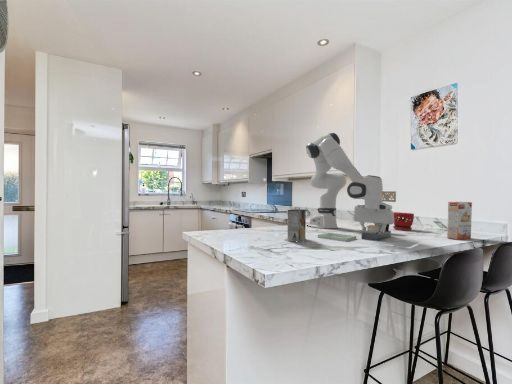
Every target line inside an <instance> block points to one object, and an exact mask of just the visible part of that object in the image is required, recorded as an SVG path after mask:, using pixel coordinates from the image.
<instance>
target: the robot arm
mask: <svg viewBox="0 0 512 384" xmlns="http://www.w3.org/2000/svg"><path fill="white" fill-rule="evenodd" d="M305 150H306V154H307V156H308V157H309V158H311V159H313V162H314V165H315V173H314V174H313V175H312V176H311V178H310V184H311V186H312V187H313V188H314V189H319V190H321V189H322V190H323V189H326V190H327V191H326V192H325V193H323V194H322V195H321V196H320V198H319V207H318V208H316V211H317V212H316V214H314V215H313V216H311V217H310V220H309V223H308V224H306V226H307V225H308V226H307V227H309V226H311V227H310V228H316V229H338V228H339V227H338V223H337V208H336V206H337V197H338V194H339V192H340V191H341V190H342V189H343V188H344V187H345V186H346V184H347V177H348V178H349V180H350V181H351V182H350V183H349V185H348V186H347V187H346V188H347V189H346V192H347V195H348V196H349V197H350V198H351V199H354V200H364V204H357V205H355V207H354V215H353V220H354V222H359V223H360V226H361V230H362V231H363V232H366V231H367V226H365V223H367V224H368V223H370V224H374V223H375V224H376V223H379V224H382V226H383V228H382V229H380V232H382V233H384V229H385V227H386V226H387V224H389V225H394V214H393V212H394V211H393V210H392V209H393V206H392V205H391V204H389V203H388V204H387V203H386V202H383V192H384V191H383V180H382V178H381V177H380V176H376V175H372V174H371V175H370V174H367V175H366V176H365V177H364V176H362V174H361V173H360V172H359V170H358V169H357V168H356V167H355V166H354V164H353V163H352V161H351V160H350V158H349V157H348V156H347V153H346V152H345V151H344V149H343V148H342V147H341V140H340V137H339V135H338V134H337V133H335V132H330V133H328V134H325V135H322V136H320V137H319V138H317V139H315V140H312V141H311V142H309V143H307V144H306V146H305ZM331 169H335V170H337V171H339V172H342V173H343V174H342V173H337V172H334V173H327V172H329V171H330V170H331ZM344 174H345V175H346V176H347V177H346V176H345V175H344Z"/></svg>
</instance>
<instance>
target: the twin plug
mask: <svg viewBox="0 0 512 384" xmlns="http://www.w3.org/2000/svg"><path fill="white" fill-rule="evenodd" d="M374 225H376V226H379V232H380V229H382V228H383V226H382V224H376V223H375V224H374ZM385 231H386V227H385V229H384V232H385Z"/></svg>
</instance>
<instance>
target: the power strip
mask: <svg viewBox="0 0 512 384" xmlns="http://www.w3.org/2000/svg"><path fill="white" fill-rule="evenodd" d="M391 237H392V231H391V230H389V231H388V230H386V231H385V232H384V233H382V232H379V233H377V234H374V233H367V230H366V231H362V232H361V240H367V241H375V242H378V241H379V242H380V241H382V240H384V239H388V238H391Z"/></svg>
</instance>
